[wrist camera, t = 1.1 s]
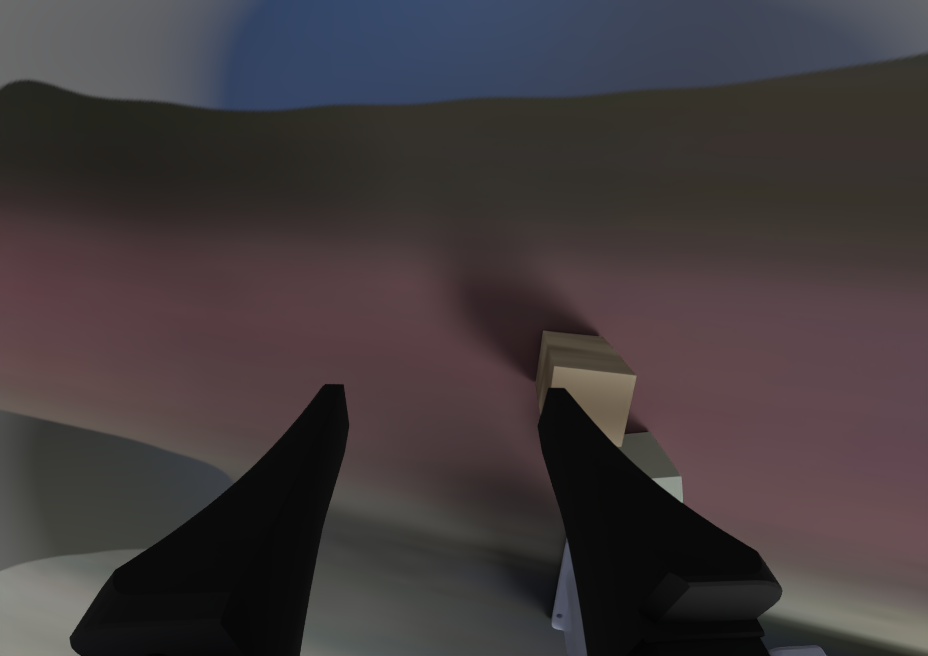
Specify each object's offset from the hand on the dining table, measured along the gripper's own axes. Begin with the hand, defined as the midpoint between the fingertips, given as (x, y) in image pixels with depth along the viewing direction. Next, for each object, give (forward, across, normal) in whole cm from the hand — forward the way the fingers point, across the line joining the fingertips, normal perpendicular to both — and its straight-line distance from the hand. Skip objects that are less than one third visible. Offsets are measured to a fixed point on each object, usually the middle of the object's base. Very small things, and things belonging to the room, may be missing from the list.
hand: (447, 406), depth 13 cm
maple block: (+10, -9, +6) cm, 15 cm away
